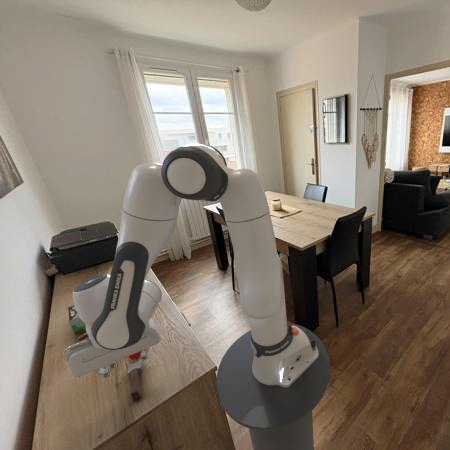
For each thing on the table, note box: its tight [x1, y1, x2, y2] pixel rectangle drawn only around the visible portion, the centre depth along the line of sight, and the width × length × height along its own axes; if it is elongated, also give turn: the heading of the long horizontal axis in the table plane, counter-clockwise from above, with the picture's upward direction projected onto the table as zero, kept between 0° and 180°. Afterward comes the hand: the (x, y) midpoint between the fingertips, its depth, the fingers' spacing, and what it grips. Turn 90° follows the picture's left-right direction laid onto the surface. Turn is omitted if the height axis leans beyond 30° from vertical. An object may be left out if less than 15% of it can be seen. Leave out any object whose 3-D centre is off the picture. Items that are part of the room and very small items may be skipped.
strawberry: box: [127, 350, 142, 360], centre depth 82 cm, size 4×4×4 cm
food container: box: [66, 304, 88, 341], centre depth 95 cm, size 12×6×10 cm, turn 44°
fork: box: [127, 360, 144, 402], centre depth 74 cm, size 14×4×3 cm, turn 34°
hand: (126, 366), depth 70 cm, fingers open, 8 cm apart
